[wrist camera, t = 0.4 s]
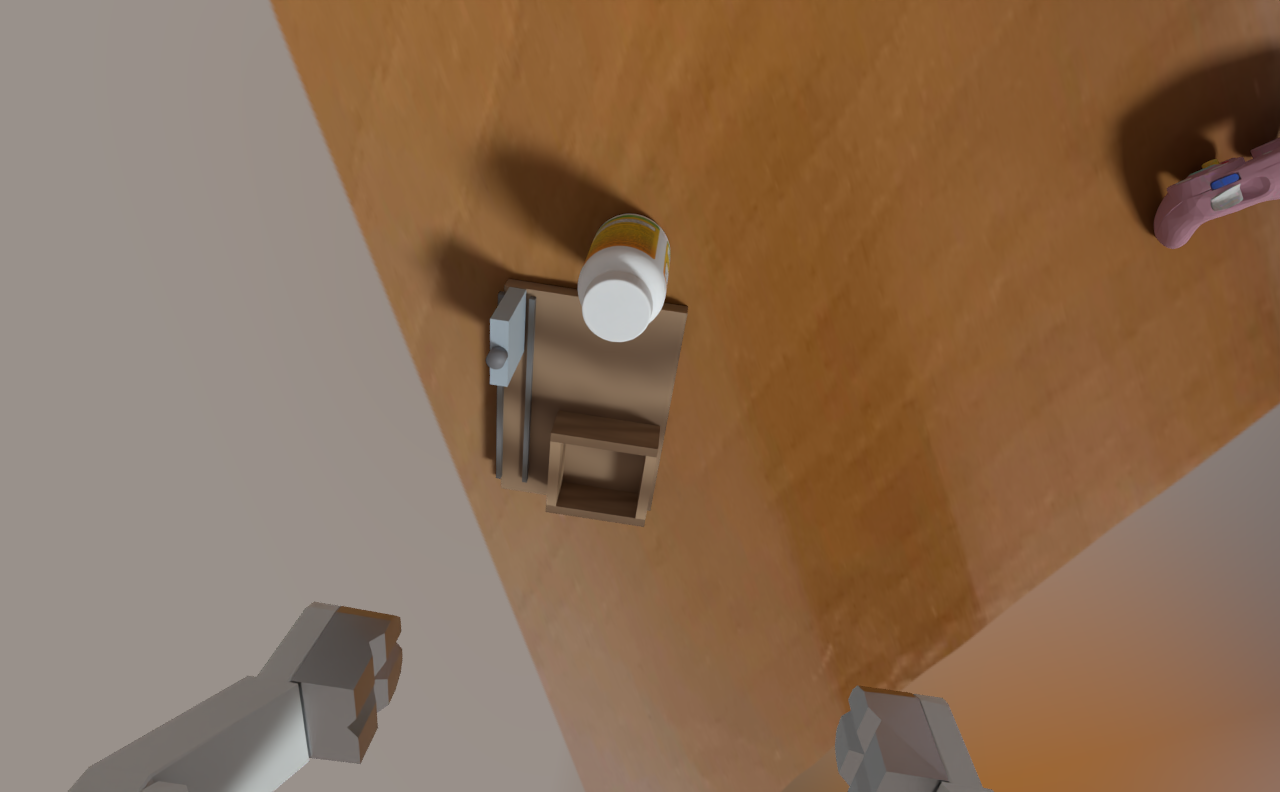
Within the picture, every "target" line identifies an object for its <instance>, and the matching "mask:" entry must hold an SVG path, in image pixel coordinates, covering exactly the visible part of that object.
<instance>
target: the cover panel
mask: <svg viewBox="0 0 1280 792" xmlns="http://www.w3.org/2000/svg"><path fill="white" fill-rule="evenodd" d="M525 316H526V289H520V288H514V287H509V289H508V290H507V292H506V293H505V295H504V297H503V298H502V300H501V302H500V303H499V305H498V307H497V308H496V310H495V312H494V313H493V315H492V316H491V318H490V352H489V354H488V355H487V357H486V363H487V365H488V366H489V367H490V384H492V385H498V386H505V387H508V385H509V382H510V380H511V378H512V376H513V374H514V372H515V370H516V368H517V365H518V363H519V361H520V359H521V357H522V355H523V353H524V343H525Z"/></svg>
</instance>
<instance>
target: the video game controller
mask: <svg viewBox="0 0 1280 792" xmlns="http://www.w3.org/2000/svg"><path fill="white" fill-rule="evenodd" d="M1250 152H1251V154H1252V157H1253V159H1251V160H1249V161H1247V162H1245V160H1244V158H1243V157H1239V158H1231V159H1229V160H1226V161H1224V162H1221V163H1219V162H1218V160H1217V159H1213V160H1210V161H1208V162H1206V163H1204V164H1203V165H1202V166H1201V167H1202V169H1201V170H1199V171H1196V172H1194V173H1192V174H1190V175H1189V176H1188V177H1187V178H1186V179H1184V180H1182V181H1180V182H1178V183H1176V184H1174V185H1172V186H1170V187H1168V188H1167V191H1168V193H1167V194H1166V196H1165V197H1164V199H1163V200H1162V202H1161V204H1160V205H1159V207H1158V209H1157V212H1156V215H1155V218H1154V233H1155V236H1156V238H1157V239H1158V240H1159V242H1160V243H1162V244H1163V245H1164V246H1166V247H1168V248H1171V249H1175V248H1178V247H1181V246H1183V245H1184V244H1186V242H1187V241H1188V240H1189V239H1190V237H1191V236H1192V234H1193V233H1194V232H1195V230H1196V229H1197V228H1198V227H1199V226H1200V225H1201V224H1203V223H1205V222H1207V221H1209V220H1211V219H1214V218H1218V217H1221V216H1224V215H1227V214H1230V213H1233V212H1236V211H1239V210H1241V209H1244V208H1247V207H1249V206H1252V205H1254V204H1257V203H1260V202H1263V201H1268V200H1275V199H1280V138H1277V139H1275V140H1273V141H1270V142H1268V143H1266V144H1263V145H1261V146H1259V147H1256V148H1254V149H1252V150H1250Z"/></svg>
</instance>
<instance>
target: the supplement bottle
mask: <svg viewBox="0 0 1280 792" xmlns="http://www.w3.org/2000/svg"><path fill="white" fill-rule="evenodd" d="M669 264H670V245H669V242H668V239H667V236H666V235H665V233H664V231H663V230H662V229H661V227H660V226H659V225H658V224H657V223H655V222H654V221H652V220H651V219H649V218H647V217H645V216H642V215H639V214H622V215H618V216H615V217H613V218H611V219H609V220H608V221H606V222H605V223H604V224H603V225H602V226H601V227H600V229H599V230H598V231H597V233H596V235H595V237H594V239H593V242H592V245H591V247H590V250H589V252H588V255H587V257H586V260H585V262H584V265H583V267H582V269H581V272H580V275H579V280H578V297H579V300H580V303H581V306H582V315H583V318H584V321H585V323H586V325H587V326H588V328H589V329H590V330H591V331H592V332H593V333H594V334H596V335H597V336H599V337H600V338H602V339H605V340H608V341H612V342H625V341H629V340H632V339H634V338H636V337H637V336H639V335H640V334H642V332H643V331H644V330H645V329H646V328H647V326H648V324H649V323H650V322H651V321H653V320H654V319H655V317H656V316H657V315H658V314H659V312H660V311H661V309H662V307H663V304H664V301H665V297H666V290H667V281H668V272H669Z"/></svg>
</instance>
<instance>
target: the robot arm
mask: <svg viewBox="0 0 1280 792" xmlns="http://www.w3.org/2000/svg"><path fill="white" fill-rule="evenodd" d="M400 633H401V621H400V617H398V616H394V615H389V614H383V613H377V612H372V611H366V610H361V609H355V608H350V607H344V606H337V605H331V604H325V603H319V602H313V603H312V604H311V605H309V606H308V607H307V608H305V610H304V611H303V613H302V614H301V616H300V617H299V618H298V620H297V621H296V622H295V624H294V625H293V627H292V628H291V629H290V631H289V632H288V634H287V635H286V636H285V638H284V639H283V641H282V642H281V643H280V645H279V646H278V648H277V649H276V651H275V652H274V653H273V655H272V656H271V657H270V659H269V660H268V662H267V663H266V664H265V666H264V667H263V669H262V670H261V672H260V673H259V674H258V676H257V677H254V676H247V677H245V678H243V679H241V680H240V681H238V682H236V683H235V684H233V685H231V686H229V687H228V688H226V689H224V690H222V691H221V692H219V693H217V694H215V695H214V696H212V697H210V698H208V699H207V700H205V701H203V702H201V703H200V704H198V705H196V706H195V707H193V708H191V709H189V710H188V711H186V712H184V713H182V714H181V715H179V716H177V717H175V718H174V719H172V720H170V721H168V722H167V723H165V724H163V725H162V726H160V727H158V728H156V729H155V730H153V731H151V732H149V733H147V734H146V735H144V736H142V737H141V738H139V739H137V740H135V741H134V742H132V743H130V744H128V745H127V746H125V747H123V748H122V749H120V750H118V751H116V752H114V753H113V754H111V755H109V756H108V757H106V758H104V759H102V760H100V761H99V762H97V763H95V764H94V765H92V766H90V767H89V768H88V769H87V770H86V771H85V772H84V773H83V775H82V776H81V777H80V778H79V779H78V780H77V782H76V783H75V784H74V785H73V786H72V787H71V788H70V790H69V791H68V792H273V791H274V790H275V789H277V788H278V787H279V786H280V785H281V784H282V783H284V782H285V781H286V780H287V779H288V778H290V777H291V776H292V775H293V774H294V773H296V772H297V771H298V770H299V769H300V768H302V766H304V765H305V764H306V763H307V762H309V758H316V759H324V760H332V761H341V762H349V763H357V764H361V762H362V760H363V757H364V755H365V753H366V751H367V749H368V747H369V745H370V743H371V741H372V739H373V737H374V735H375V732H376V730H377V728H378V723H377V712H379V711H380V710H381V709H383V708H384V707H386V706H387V705H389V702H390V701H391V698H392V696H393V694H394V692H395V689H396V686H397V683H398V679H399V676H400V673H401V666H402V649H401V647H400V646H399V645H398V644H397V643H396V641H397V639H398V637H399V635H400ZM849 703H850V707H851V711H849V712H848V713H846V714H844V715H843V716H841V719H840V722H839V725H838V727H837V732H836V742H835V750H836V761H837V766H838V771H839V774H840V775H841V776H842V778H843V779H844V780H845V781H846V782H847V784H848V785H849V786H850V788H849V790H848V792H994V791H993V790H992V789H986V788H983V787H982V784H981V782H980V780H979V777H978V775H977V772H976V770H975V768H974V765H973V763H972V760H971V758H970V755H969V753H968V751H967V748H966V746H965V744H964V741H963V739H962V737H961V734H960V731H959V729H958V727H957V724H956V722H955V719H954V717H953V715H952V712H951V710H950V708H949V705H948V703H947V702H946V701H945V700H944V699H943V698H938V697H932V696H925V695H919V694H911V693H908V692H900V691H893V690H886V689H879V688H872V687H865V686H857V687H855V688H854V689H853V690H852V693H851V695H850V697H849Z"/></svg>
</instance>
